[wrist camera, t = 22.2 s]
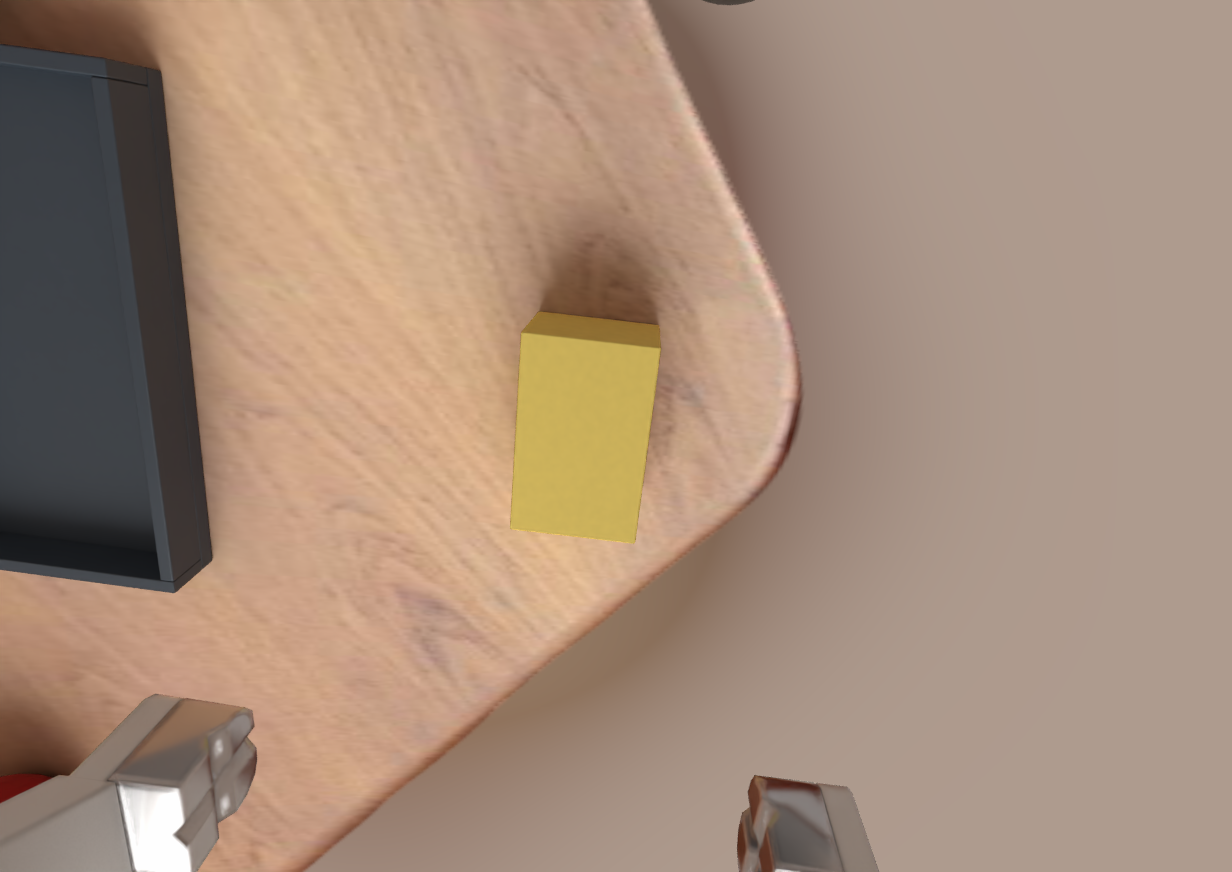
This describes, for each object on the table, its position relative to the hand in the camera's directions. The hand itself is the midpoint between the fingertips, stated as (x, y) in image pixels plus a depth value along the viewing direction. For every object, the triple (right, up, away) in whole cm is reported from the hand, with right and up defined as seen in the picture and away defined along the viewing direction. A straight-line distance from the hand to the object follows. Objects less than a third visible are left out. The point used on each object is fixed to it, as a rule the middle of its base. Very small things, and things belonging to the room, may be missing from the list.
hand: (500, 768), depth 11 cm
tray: (-22, +10, +18) cm, 30 cm away
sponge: (+1, +6, +18) cm, 19 cm away
